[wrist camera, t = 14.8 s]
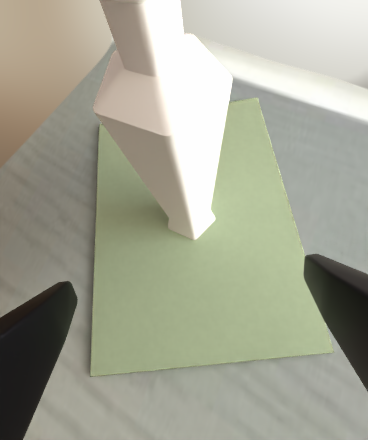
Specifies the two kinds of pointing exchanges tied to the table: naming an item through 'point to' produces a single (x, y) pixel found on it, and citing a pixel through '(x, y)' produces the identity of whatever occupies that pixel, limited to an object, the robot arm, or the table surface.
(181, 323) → the mat
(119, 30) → the perfume bottle
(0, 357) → the robot arm
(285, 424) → the table surface
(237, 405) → the table surface
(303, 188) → the table surface
